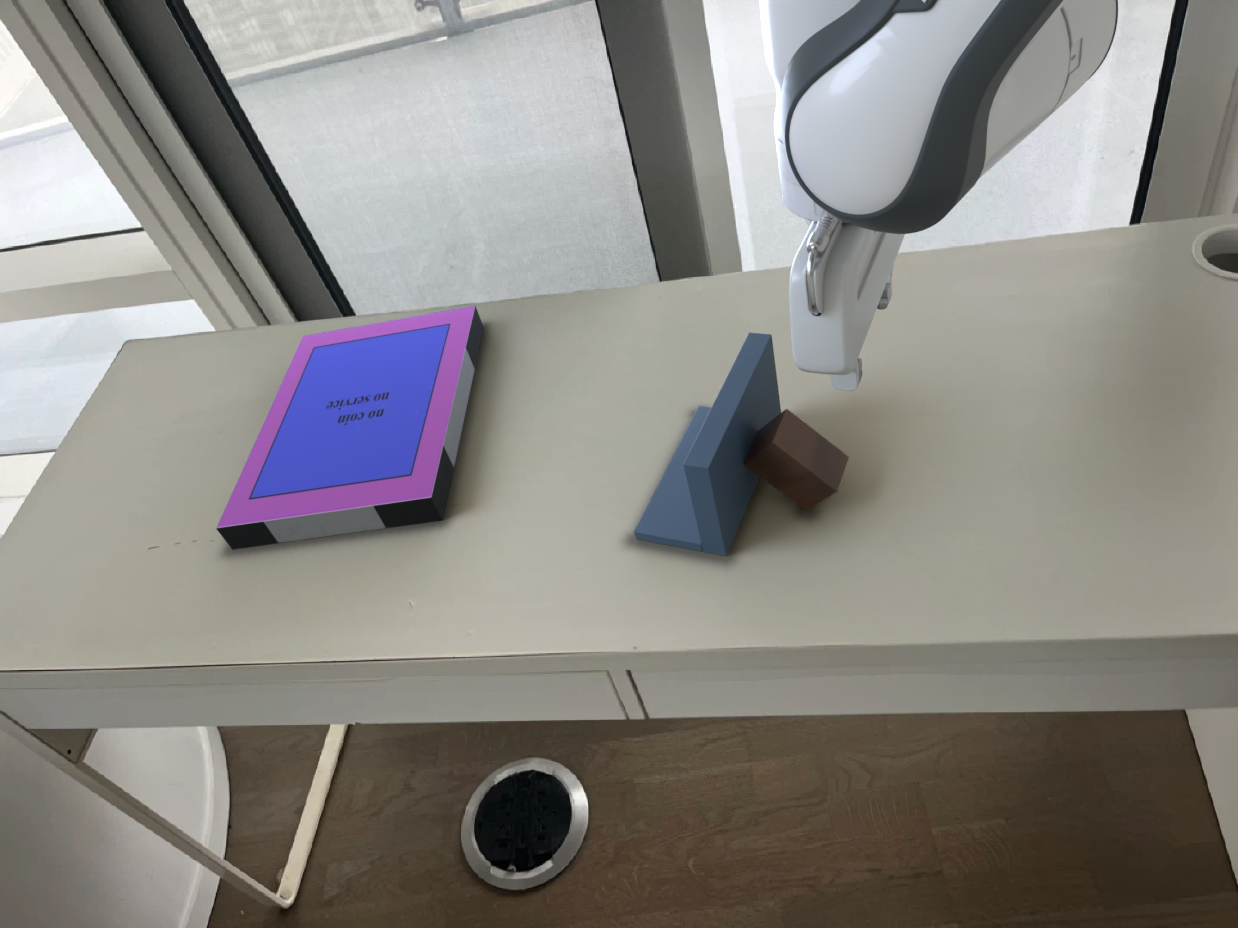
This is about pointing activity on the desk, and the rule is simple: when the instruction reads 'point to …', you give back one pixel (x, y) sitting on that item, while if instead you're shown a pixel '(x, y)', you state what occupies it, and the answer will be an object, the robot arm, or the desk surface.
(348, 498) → the book
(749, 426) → the bookend
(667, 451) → the desk surface
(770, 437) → the walnut block
